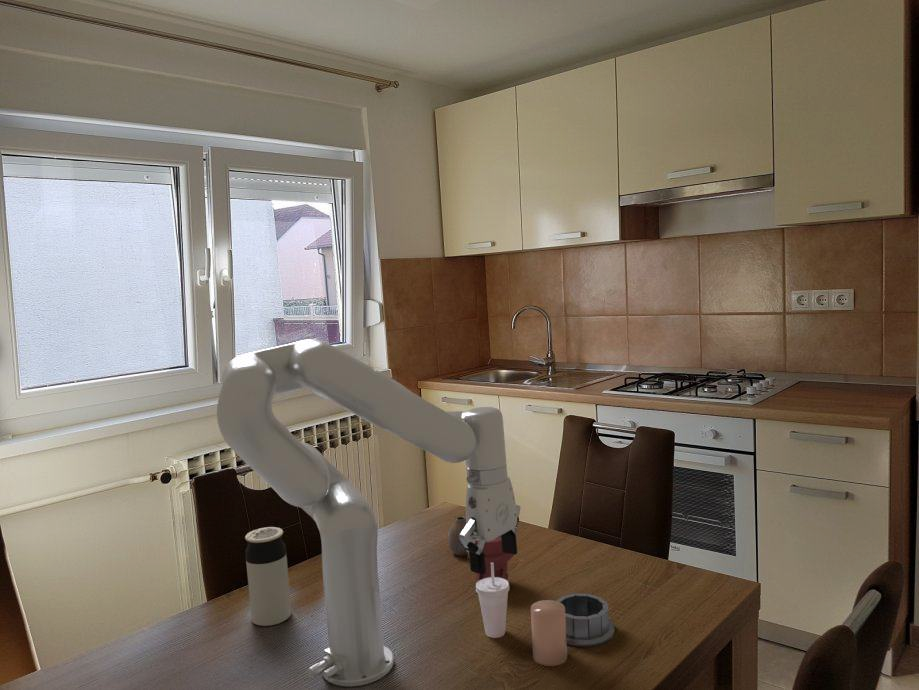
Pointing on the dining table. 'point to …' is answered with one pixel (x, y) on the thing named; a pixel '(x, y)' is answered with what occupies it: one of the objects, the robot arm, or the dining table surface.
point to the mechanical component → (494, 559)
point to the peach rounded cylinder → (549, 632)
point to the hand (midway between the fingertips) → (494, 562)
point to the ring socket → (586, 620)
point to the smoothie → (493, 603)
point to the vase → (457, 536)
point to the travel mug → (267, 576)
